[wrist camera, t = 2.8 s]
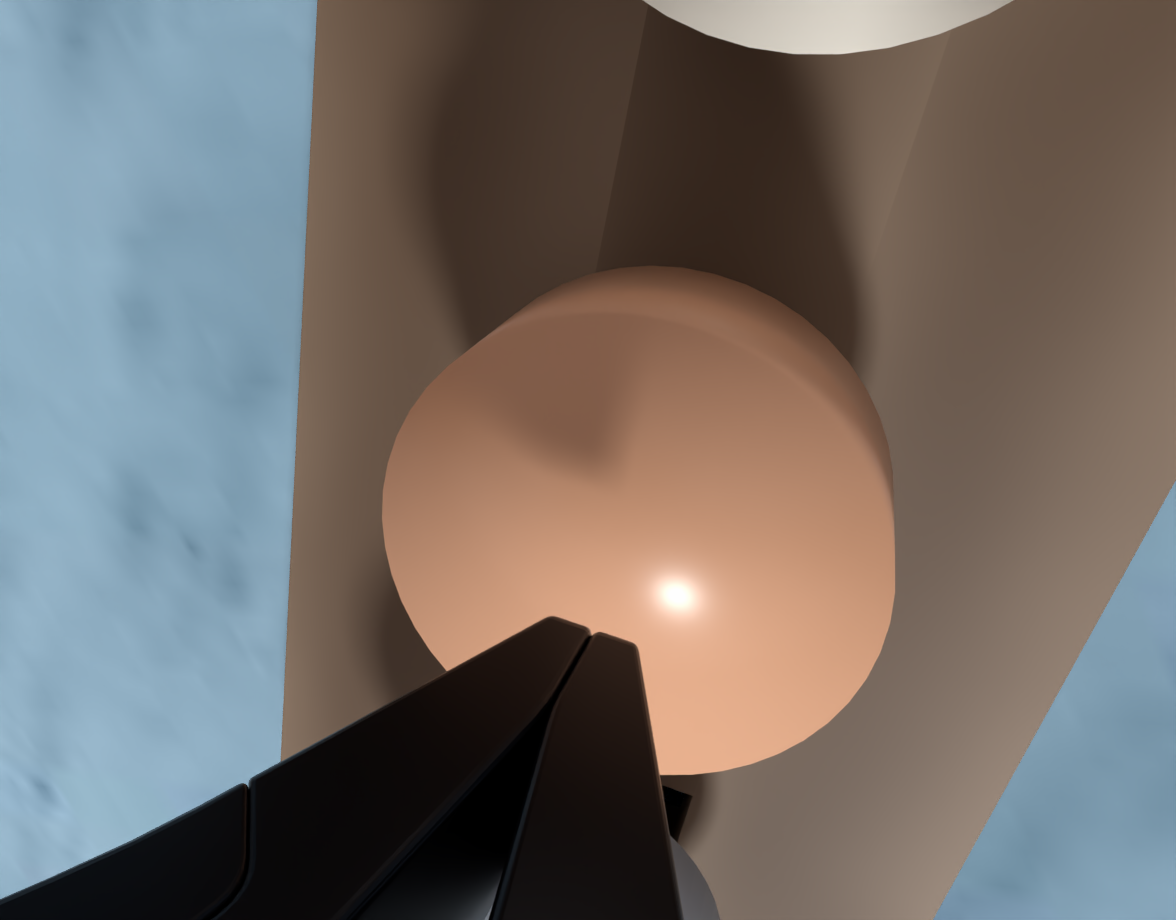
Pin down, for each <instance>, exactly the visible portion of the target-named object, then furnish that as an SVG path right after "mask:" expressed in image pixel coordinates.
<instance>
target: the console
mask: <svg viewBox="0 0 1176 920" xmlns="http://www.w3.org/2000/svg"><path fill="white" fill-rule="evenodd" d="M638 266H665V267H681V268H687V269H692V270H697V271H702V272H708V273H713V274H716V275H719V276H722V277H725V278H728V279H731V280H734V281H737V282H740V283H743V284H746V285H748V286H750V287H752V288H754V289H756V290H758V291H760V292H762V293H764V294H767V295H769V296H771V297H773V298H775V299H776V300H778V301H779V302H781V303H782V304H784V305H785V306H787V307H789V308H790V309H792V310H793V311H795V312H796V313H798V314H799V315H801V316H802V317H803V318H805V319H806V320H807V321H808V322H809V323H810V324H812V325H813V326H814V327H815V328H816V329H817V330H818V331H820V332H821V333H822V334H823V335H824V336H825V337H827V338H828V339H829V341H830V342H831V343H832V344H833V345H834V346H835V347H836V349H837V350H838V351H839V352H840V353H841V354H842V355H843V356H844V358H845V359H846V360H847V361H848V362H849V363H850V365H851V366H852V368H853V369H854V371H855V372H856V374H857V376H858V377H859V379H860V380H861V382H862V383H863V385H864V386H865V388H866V389H867V391H868V393H869V395H870V397H871V400H872V402H873V404H874V406H875V408H876V410H877V412H878V414H879V416H880V419H881V422H882V426H883V429H884V432H885V435H886V439H887V442H888V445H889V451H890V457H891V464H892V470H893V492H894V536H895V596H894V602H893V609H892V615H891V621H890V625H889V628H888V631H887V634H886V637H885V640H884V643H883V646H882V649H881V652H880V654H879V656H878V658H877V660H876V662H875V664H874V666H873V668H872V670H871V671H870V673H869V675H868V677H867V679H866V680H865V682H864V683H863V684H862V686H861V687H860V688H859V690H858V691H857V692H856V694H855V695H854V696H853V698H852V699H851V700H850V702H849V703H848V704H847V705H846V706H845V707H844V708H843V709H842V710H841V711H840V712H839V713H838V714H837V715H836V716H835V717H834V718H833V719H832V720H831V721H830V722H829V723H827V724H826V725H825V726H823V727H822V728H820V729H819V730H818V731H816V732H815V733H814V734H812V735H811V736H809V737H808V738H807V739H805V740H804V741H802V742H800V743H798V744H796V745H794V746H792V747H791V748H789V749H787V750H785V751H783V752H781V753H779V754H777V755H774V756H772V757H769V758H766V759H764V760H761V761H758V762H756V763H753V764H750V765H746V766H742V767H737V768H733V769H729V770H725V771H719V772H711V773H703V774H694V775H660V779H661V785H663V786H666V787H669V788H672V789H675V790H677V791H680V792H683V793H685V794H684V797H683V800H682V803H681V806H680V807H677V806H675V805H672V804H669V803H666V802H664V803H665V809H666V815H667V821H668V827H669V833H670V836H671V837H672V838H673V839H674V840H675V841H676V842H677V843H678V844H679V845H680V846H681V847H682V848H683V849H684V850H685V851H686V853H687V854H688V855H689V857H690V858H691V859H692V860H693V862H694V863H695V864H696V865H697V867H698V869H699V870H700V872H701V873H702V875H703V877H704V878H705V880H706V882H707V883H708V886H709V888H710V890H711V892H712V895H713V897H714V899H715V902H716V906H717V909H718V913H719V916H720V920H933V918H934V917H935V915H936V913H937V911H938V909H939V908H940V906H941V904H942V902H943V900H944V899H945V897H946V895H947V893H948V891H949V889H950V888H951V886H952V884H953V882H954V880H955V879H956V877H957V875H958V873H959V871H960V870H961V868H962V866H963V864H964V862H965V861H966V859H967V857H968V855H969V853H970V851H971V850H972V848H973V846H974V844H975V842H976V841H977V839H978V837H979V835H980V833H981V832H982V830H983V828H984V826H985V824H986V823H987V821H988V819H989V817H990V815H991V813H992V812H993V810H994V808H995V806H996V804H997V803H998V801H999V799H1000V797H1001V795H1002V794H1003V792H1004V790H1005V788H1006V786H1007V785H1008V783H1009V781H1010V779H1011V777H1012V775H1013V774H1014V772H1015V770H1016V768H1017V766H1018V765H1019V763H1020V761H1021V759H1022V757H1023V756H1024V754H1025V752H1026V750H1027V748H1028V747H1029V745H1030V743H1031V741H1032V739H1033V737H1034V736H1035V734H1036V732H1037V730H1038V728H1039V727H1040V725H1041V723H1042V721H1043V719H1044V718H1045V716H1046V714H1047V712H1048V710H1049V709H1050V707H1051V705H1052V703H1053V701H1054V700H1055V698H1056V696H1057V694H1058V692H1059V690H1060V689H1061V687H1062V685H1063V683H1064V681H1065V680H1066V678H1067V676H1068V674H1069V672H1070V671H1071V669H1072V667H1073V665H1074V663H1075V662H1076V660H1077V658H1078V656H1079V654H1080V652H1081V651H1082V649H1083V647H1084V645H1085V643H1086V642H1087V640H1088V638H1089V636H1090V634H1091V633H1092V631H1093V629H1094V627H1095V625H1096V624H1097V622H1098V620H1099V618H1100V616H1101V614H1102V613H1103V611H1104V609H1105V607H1106V605H1107V604H1108V602H1109V600H1110V598H1111V596H1112V595H1113V593H1114V591H1115V589H1116V587H1117V586H1118V584H1119V582H1120V580H1121V578H1122V576H1123V575H1124V573H1125V571H1126V569H1127V567H1128V566H1129V564H1130V562H1131V560H1132V558H1133V557H1134V555H1135V553H1136V551H1137V549H1138V548H1139V546H1140V544H1141V542H1142V540H1143V538H1144V537H1145V535H1146V533H1147V531H1148V529H1149V528H1150V526H1151V524H1152V522H1153V520H1154V519H1155V517H1156V515H1157V513H1158V511H1159V510H1160V508H1161V506H1162V504H1163V502H1164V500H1165V499H1166V497H1167V495H1168V493H1169V491H1170V490H1171V488H1172V486H1173V484H1174V482H1175V481H1176V0H1013V1H1011V2H1010V3H1008V4H1006V5H1004V6H1002V7H1001V8H999V9H997V10H995V11H993V12H991V13H990V14H988V15H985V16H983V17H980V18H978V19H975V20H973V21H970V22H968V23H966V24H963V25H961V26H958V27H956V28H953V29H951V30H948V31H946V32H943V33H941V34H938V35H935V36H931V37H927V38H924V39H920V40H916V41H913V42H909V43H905V44H901V45H898V46H894V47H890V48H884V49H877V50H869V51H862V52H854V53H847V54H790V53H783V52H776V51H770V50H763V49H756V48H749V47H746V46H743V45H739V44H736V43H733V42H729V41H726V40H723V39H719V38H716V37H713V36H709V35H706V34H704V33H702V32H700V31H698V30H695V29H693V28H691V27H689V26H687V25H685V24H683V23H680V22H678V21H676V20H674V19H672V18H670V17H668V16H666V15H664V14H663V13H661V12H660V11H658V10H657V9H655V8H654V7H652V6H651V5H649V4H648V3H646V2H645V1H643V0H318V1H317V22H316V43H315V63H314V84H313V105H312V125H311V146H310V167H309V187H308V208H307V229H306V249H305V270H304V291H303V311H302V332H301V353H300V373H299V394H298V415H297V435H296V456H295V477H294V497H293V518H292V539H291V559H290V580H289V601H288V621H287V642H286V663H285V683H284V704H283V725H282V745H281V761H283V760H285V759H287V758H289V757H290V756H292V755H294V754H296V753H298V752H300V751H301V750H303V749H305V748H307V747H309V746H311V745H312V744H314V743H316V742H318V741H320V740H322V739H323V738H325V737H327V736H329V735H331V734H333V733H335V732H336V731H338V730H340V729H342V728H344V727H346V726H347V725H349V724H351V723H353V722H355V721H357V720H358V719H360V718H362V717H364V716H366V715H368V714H369V713H371V712H373V711H375V710H377V709H379V708H380V707H382V706H384V705H386V704H388V703H390V702H391V701H393V700H395V699H397V698H399V697H401V696H402V695H404V694H406V693H408V692H410V691H412V690H413V689H415V688H417V687H419V686H421V685H423V684H424V683H426V682H428V681H430V680H432V679H434V678H435V677H437V676H439V675H441V674H443V673H445V672H446V670H445V668H444V667H443V666H442V665H441V664H440V662H439V661H438V660H437V659H436V657H435V656H434V655H433V654H432V653H431V651H430V650H429V648H428V647H427V645H426V644H425V642H424V641H423V639H422V638H421V636H420V635H419V633H418V631H417V630H416V628H415V627H414V625H413V623H412V621H411V619H410V617H409V615H408V613H407V611H406V609H405V607H404V605H403V603H402V601H401V599H400V596H399V593H398V591H397V588H396V585H395V582H394V580H393V577H392V574H391V570H390V566H389V562H388V558H387V553H386V549H385V542H384V533H383V524H382V503H383V487H384V481H385V476H386V470H387V464H388V461H389V458H390V455H391V452H392V449H393V446H394V443H395V440H396V437H397V435H398V433H399V431H400V429H401V427H402V425H403V423H404V421H405V419H406V417H407V415H408V413H409V411H410V410H411V408H412V407H413V406H414V404H415V403H416V401H417V400H418V399H419V397H420V396H421V395H422V393H423V392H424V390H425V389H426V388H427V386H428V385H429V384H430V383H431V382H432V381H433V380H434V379H435V378H436V377H437V376H438V375H439V374H440V373H441V372H442V371H443V370H444V369H445V368H446V367H447V366H449V365H450V364H451V363H452V362H454V361H455V360H456V359H458V358H459V357H460V356H461V355H463V354H464V353H465V352H467V351H468V350H469V349H470V348H472V347H473V346H474V345H476V344H477V343H478V342H479V341H481V340H482V339H483V338H485V337H486V336H487V335H488V334H490V333H491V332H492V331H494V330H495V329H496V328H497V327H499V326H500V325H501V324H503V323H504V322H505V321H506V320H508V319H509V318H510V317H512V316H513V315H514V314H515V313H517V312H518V311H519V310H521V309H522V308H524V307H525V306H526V305H528V304H529V303H530V302H532V301H533V300H534V299H536V298H537V297H539V296H541V295H543V294H545V293H547V292H548V291H550V290H552V289H554V288H556V287H558V286H560V285H562V284H564V283H567V282H569V281H572V280H575V279H578V278H581V277H583V276H586V275H589V274H593V273H597V272H602V271H607V270H612V269H616V268H624V267H638Z"/></svg>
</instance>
